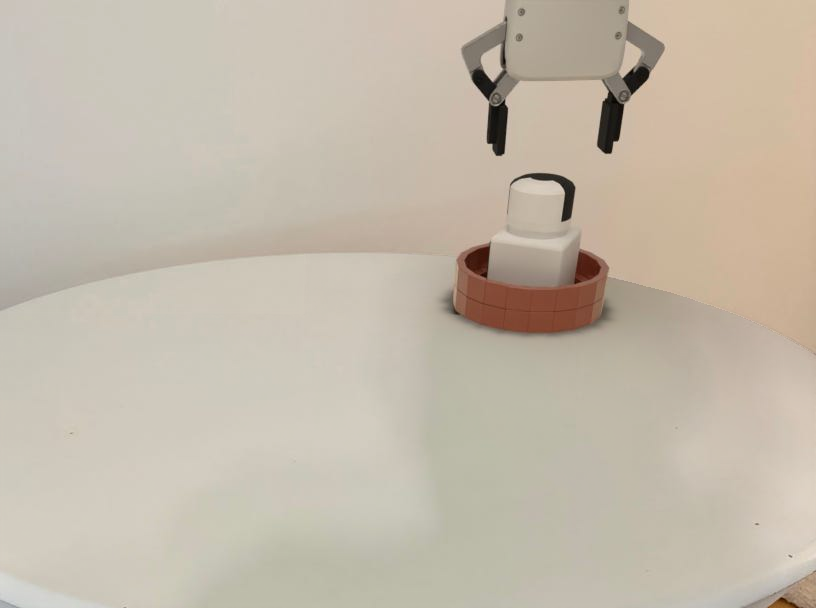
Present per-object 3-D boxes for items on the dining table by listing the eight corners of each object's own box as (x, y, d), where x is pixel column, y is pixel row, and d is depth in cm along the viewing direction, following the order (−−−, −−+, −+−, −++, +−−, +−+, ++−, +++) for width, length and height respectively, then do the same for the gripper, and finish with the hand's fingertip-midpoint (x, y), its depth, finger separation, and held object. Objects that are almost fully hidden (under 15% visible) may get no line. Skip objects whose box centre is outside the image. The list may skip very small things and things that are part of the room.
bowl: (583, 289, 105) (590, 240, 102) (614, 342, 93) (624, 289, 90) (446, 289, 105) (449, 240, 102) (461, 342, 93) (465, 289, 90)
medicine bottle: (504, 289, 102) (518, 164, 95) (572, 300, 100) (591, 173, 92) (482, 312, 97) (494, 181, 90) (552, 324, 95) (571, 191, 87)
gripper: (671, -86, 82) (635, 141, 92) (463, -82, 82) (451, 144, 92) (698, -83, 76) (657, 159, 87) (474, -78, 76) (460, 163, 87)
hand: (551, 151), depth 89 cm, fingers open, 9 cm apart
